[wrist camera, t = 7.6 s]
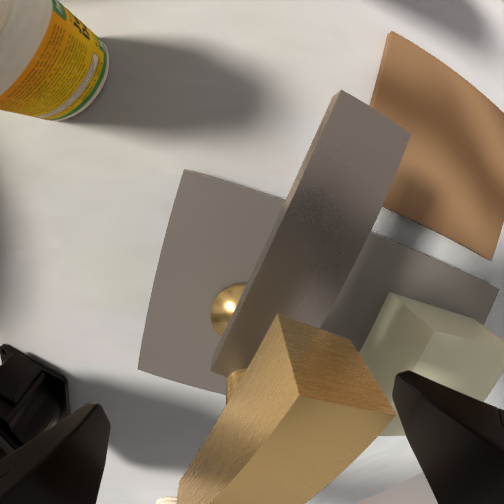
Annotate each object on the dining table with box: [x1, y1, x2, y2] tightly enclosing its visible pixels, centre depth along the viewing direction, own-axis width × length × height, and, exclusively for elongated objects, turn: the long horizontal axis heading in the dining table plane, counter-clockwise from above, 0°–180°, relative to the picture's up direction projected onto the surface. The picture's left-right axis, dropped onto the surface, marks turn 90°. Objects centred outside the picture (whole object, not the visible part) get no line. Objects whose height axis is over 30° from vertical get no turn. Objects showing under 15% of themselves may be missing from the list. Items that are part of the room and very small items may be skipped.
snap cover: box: [359, 292, 504, 436], centre depth 13 cm, size 6×8×4 cm
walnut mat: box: [370, 31, 504, 261], centre depth 14 cm, size 10×12×1 cm
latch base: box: [138, 170, 499, 395], centre depth 16 cm, size 11×21×1 cm, turn 72°
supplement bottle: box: [0, 0, 109, 121], centre depth 7 cm, size 5×5×10 cm
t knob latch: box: [176, 90, 411, 504], centre depth 9 cm, size 3×12×10 cm, turn 156°
